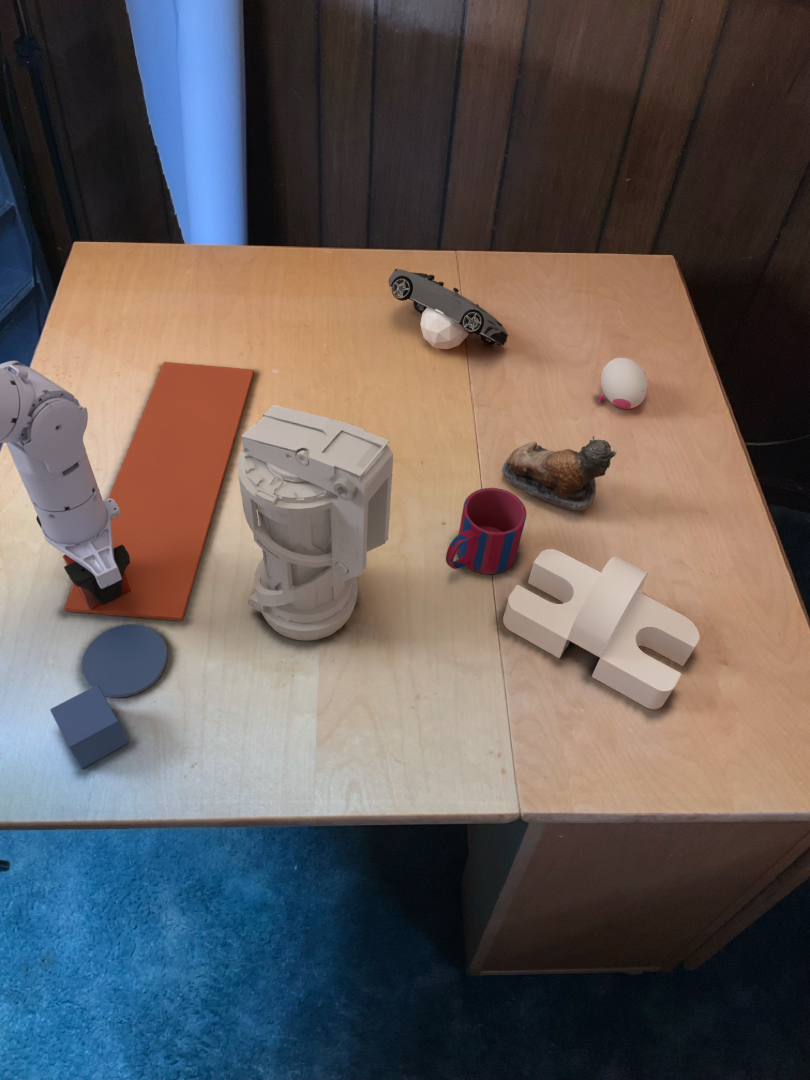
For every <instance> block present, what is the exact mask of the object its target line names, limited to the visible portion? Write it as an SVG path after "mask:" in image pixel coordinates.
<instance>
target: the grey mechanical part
mask: <svg viewBox="0 0 810 1080" xmlns="http://www.w3.org/2000/svg"><path fill="white" fill-rule="evenodd" d="M240 437H241V444H242V445H241V446H242V449H241V452H240V454H239V456H238V460H237V474H238V481H239V488H240V496H241V499H242V500H241V501H242V507H243V513H244V517H245V520H246V522H247V524H248V526H249V528H250V530H251V532H252V534H253V542H255V543H256V544H257V545H258V547H260V548H261V549H262V559H261V560H260V561H259V563H258V564H257V567H256V570H255V573H254V577H253V578H254V579H253V582H254V583H253V584H254V592H253V593H252V595H251V596H250V597H249V598H248V599H247V603H248V605H249V606H250V607H251V608H252V609H253V610H255V611H257V612H259V613H261V614H262V616H263V618H264V620H265V621H266V622H267V623H268V625H269V626H270V627H271V628H272V629H273V630H274V631H275V632H277V633H278V634H280V635H281V636H284V637H286V638H289V639H290V640H291V639H292V640H297V641H307V642H309V641H317V640H320V639H323V638H326V637H330V636H331V635H333V634H334V633H336V632H337V631H339V630H340V629H341V628H342V627H344V625H345V624H347V622H348V621H349V620H350V617H351V615H352V614H353V612H354V609H355V606H356V603H357V598H358V593H359V592H358V591H359V585H358V579H357V577H358V576H360V575H363V574H364V572H365V571H366V570H367V554H368V552H370V551H371V550H372V551H373V550H374V549H376V548H379V547H381V546H383V545H386V543H387V542H388V540H389V529H390V515H391V500H392V499H391V498H392V483H393V464H394V452H393V451H392V449H391V448H390V446H389V445H388V444H389V443H390V442H391V441H390V439H387V438H386V437H385V438H384V437H383V436H379V435H376V434H374V433H372V432H369V431H367V429H365V428H362V427H359V426H356V425H354V424H351V423H348V422H345V421H343V420H341V421H339V420H337V419H334V418H331V417H327V416H323V415H318V414H314V413H310V412H306V411H303V410H297V409H294V408H290V407H285V406H282V405H277V404H272V405H271V406H270V407H269V408H268V410H266V411H265V412H264V413H263V414H262V418H260V419H259V421H258V422H256V423H255V424H254V425H251V426H250V427H249V428H248V429H246V431H245V432H244V433H243V434H242V435H241V436H240Z"/></svg>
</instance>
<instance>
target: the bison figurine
mask: <svg viewBox="0 0 810 1080" xmlns="http://www.w3.org/2000/svg"><path fill="white" fill-rule="evenodd" d="M611 447H612V446H611V444H610V443H609V441H607V440H606V439H595V435H593V436H592V437H590V439H589V442H588V444H587V443H586V445H583V446H581V449H580V451H579V452H578V451H577V450H576V451H575V450H573V449H571V448H567V449H562V450H557V451H554V450H548V449H547V448H544V447H542V446H541V445H539V444H538V443H537V442H536V441H531V442H529V443H525V444H524V445H522V446H520V447H518V448H516V449H515V450H513V451H512V452H511V453H510V455H509V457H508V458H507V459H506V460H505V462H503V465H502V469H501V473H502V476H503V477H504V478H505V479H506V480H507V481H508V482H509V483H510V484H511V485H512V486H514V487H515V488H517V489H518V490H521V491H523V492H525V493H527V494H528V495H531V496H533V497H534V498H537V499H539V500H542V501H545V502H547V503H549V504H552V505H554V506H557V507H561V508H564V509H567V510H571V511H582V510H585V509H587V508H588V507H589V506H590V505H591V504H592V503H593V501H594V499H595V497H596V493H597V484H596V482H597V481H596V478H599V477H603V476H605V475H606V472H607V470H608V469H609V468H610V466H611V460H612V458H614V457H615V456H616V455H617V451H618V450H617V447H614V449H613V450H612V448H611Z"/></svg>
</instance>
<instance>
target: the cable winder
mask: <svg viewBox="0 0 810 1080" xmlns="http://www.w3.org/2000/svg"><path fill="white" fill-rule="evenodd" d="M648 575H649V572H647V571H646V570H643V569H641V568H640V567H637V566H636V565H634V564H632V563H630V562H628V561H626V560H624V559H622V558H620V557H618V556H615V555H612V556H611V558H610V559H609V560H608V561H607V563H606V564H605V565H604V567H603V569H602V570H601V571H598V570H596V569H595V568H593V567H590V565H589V566H588V565H587V564H585V563H583V562H581V561H580V560H577V559H576V558H573V557H571V556H569V555H567V554H566V553H563V552H562V551H560V550H557V549H554V548H547V549H544V550H542V551H541V552H539V554H538V556H536V558H535V560H534V561H533V562H532V567H531V569H530V573H529V577H528V580H527V584H529V585H531V586H533V587H535V588H536V589H538V590H540V591H542V592H544V593H545V594H548V595H549V596H552V597H553V598H555V599H557V600H559V601H560V602H561V603H555V602H551V601H548V600H546V599H545V598H543V597H541V596H539V595H537V594H535V593H534V592H532V591H530V590H529V589H526V588H525V587H523V586H521V585H519V584H516V585H515V587H514V588H513V590H512V591H511V593H510V594H509V595H508V598H507V603H506V606H505V608H504V609H505V610H504V613H503V617H502V623H503V625H504V627H505V628H506V629H507V630H509V632H512V633H513V634H515V635H517V636H519V637H520V638H522V639H524V640H526V641H528V643H529V642H530V643H531V644H533V645H535V646H537V647H539V649H542V650H544V651H545V652H547V653H549V654H551V655H553V656H554V657H556V658H557V659H560V658H561V657H562V656H563V654H564V652H565V651H566V649H567V647H568V646H569V645H570V643H573V644H575V645H577V646H578V647H580V648H582V649H583V650H584V651H585V650H586V651H587V652H589V653H591V654H592V655H595V656H596V657H598V658H599V660H598V662H597V664H596V666H595V669H594V670H593V672H592V675H591V677H592V679H594V680H597V681H598V682H600V683H602V684H604V685H605V686H607V687H609V688H611V689H613V690H614V691H616V692H618V693H620V694H621V695H623V696H625V697H626V698H628V699H630V700H631V701H632V700H633V701H634V702H636V703H637V704H639V705H641V706H643V707H644V708H647V709H649V710H658V709H660V708H662V707H663V706H664V705H665V703H666V701H667V700H668V698H669V697H670V695H671V693H672V692H673V690H674V689H675V687H676V685H677V684H678V682H679V679H680V678H681V675H682V673H681V672H679V671H678V670H677V669H676V670H675V669H674V668H672V667H670V666H669V665H666V664H665V663H663V662H661V661H659V660H658V659H655V658H654V657H652V656H650V655H648V654H647V653H645V652H643V651H642V650H641V649H640V647H645V648H647V649H649V650H652V651H653V652H655V653H657V654H659V655H660V656H663V657H665V658H667V659H668V660H670V661H672V662H674V663H675V664H677V665H679V666H682V667H684V665H685V664H686V662H687V661H688V659H689V658H690V656H691V654H692V653H693V651H694V650H695V648H696V646H697V644H698V642H699V640H700V638H701V636H700V632H699V630H698V628H697V626H696V625H695V623H694V622H692V620H691V619H689V618H688V617H687V616H685V615H684V614H681V613H680V612H677V611H676V610H673V609H671V608H670V607H668V606H666V605H664V604H663V603H661V602H658V601H656V600H654V599H653V598H651V597H648V596H646V595H644V594H643V593H641V590H642V588H643V586H644V584H645V582H646V580H647V578H648Z"/></svg>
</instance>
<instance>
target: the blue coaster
mask: <svg viewBox="0 0 810 1080" xmlns="http://www.w3.org/2000/svg"><path fill="white" fill-rule="evenodd" d="M167 662H168V649H167V645H166V643H165V640H164V639H163V637H162V636H161V635H160V634H159V633H158V632H157V631H155V630H154V629H152V628H150V627H147V626H146V625H141V624H122V625H118V626H115V627H112V628H109V629H107V630H106V631H104V632H102V633H101V634H99V635H98V636H97V637H95V638H94V639H93V640H92V641H91V643H89V645H88V646H87V648H86V650H85V651H84V654H83V657H82V660H81V673H82V676H83V678H84V681H85V683H86V684H87V685H88V687H89V688H92V687H94V686H96V685H99V687H100V689H101V690H102V692H103V694H104V696H105V697H108V698H128V697H131V696H132V697H133V696H134V695H137V694H140V693H142V692H144V691H146V690H147V689H149V688H150V687H152V686H153V685H154V684H155V683H156V682H158V680H159V678H160V677H161V676H162V675H163V673H164V671H165V670H166V667H167Z"/></svg>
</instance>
